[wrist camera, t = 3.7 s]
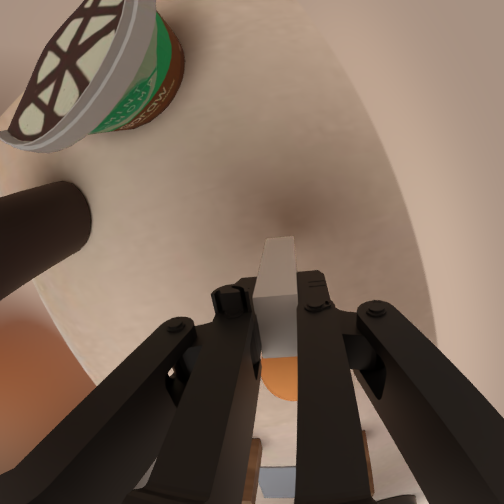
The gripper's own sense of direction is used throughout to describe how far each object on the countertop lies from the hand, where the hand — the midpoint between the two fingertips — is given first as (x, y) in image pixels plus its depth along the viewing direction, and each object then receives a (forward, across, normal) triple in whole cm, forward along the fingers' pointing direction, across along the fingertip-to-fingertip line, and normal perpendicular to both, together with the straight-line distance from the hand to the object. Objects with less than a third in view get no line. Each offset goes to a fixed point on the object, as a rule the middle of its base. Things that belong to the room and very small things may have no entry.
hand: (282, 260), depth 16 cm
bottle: (+5, +19, -4) cm, 20 cm away
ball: (+2, 0, +10) cm, 10 cm away
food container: (+5, +8, -12) cm, 15 cm away
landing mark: (+4, 0, +40) cm, 40 cm away
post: (+5, +6, +26) cm, 27 cm away
